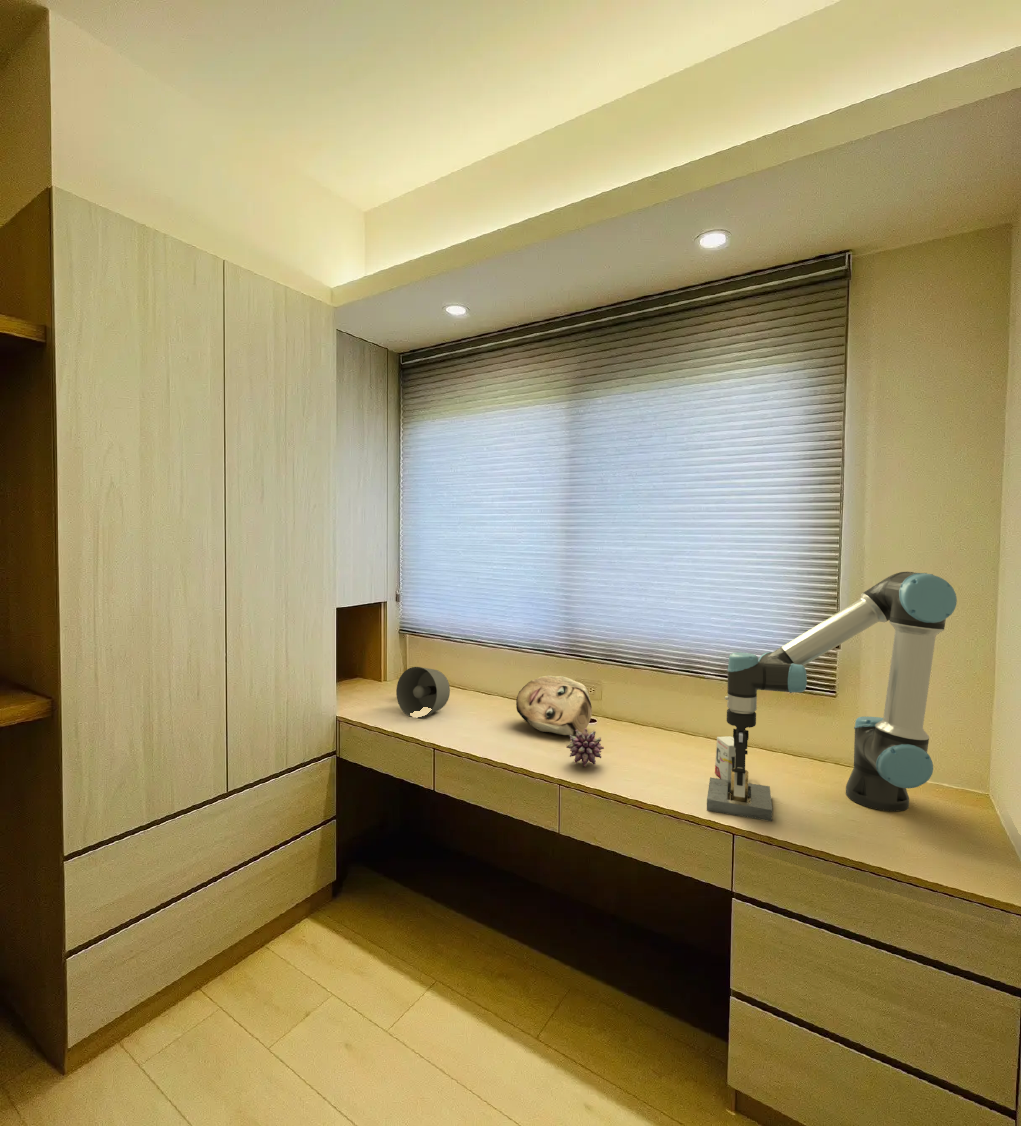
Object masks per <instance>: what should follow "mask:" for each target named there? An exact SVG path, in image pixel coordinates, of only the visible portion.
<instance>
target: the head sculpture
mask: <svg viewBox="0 0 1021 1126" xmlns="http://www.w3.org/2000/svg"><path fill="white" fill-rule="evenodd" d="M515 701H516V703H515V704H516V705H515V706H516V707H515V708H516V711H517V713H518V715H519V716H520V717H521V718H522V719H523V721H525V722H526V724H528V725H530V726H531V727H532V728H534V729H536V730H538V731H539V732H542V733H548V732H549V733H553V734H556V735H559V736H560V735H561V736H570V735H571V736H576V731H575V730H578V731H579V732H581V733H582V734H583V732H584V730H585V728H587V729H588V726H589V725H590V721H591V719H592V715H593V709H592V701H591V696H590V694H589V690H588V689H587V687H586V686H585V685H584V684H583V683H581V682H578V681H577V680H576V681H575V680H574V679H572V678H569V677H566V676H564V675H563V676H562V675H559V676H553V675H550V674H549V675H545V676H544V675H541V676H539V677H536V678H534V679H532V680H530V681H528V682H527V683H526V684H525V685H524V686H523V687H522V688H521V689H520V690H519V691H518V694H517V696H516V700H515Z"/></svg>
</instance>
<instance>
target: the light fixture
mask: <svg viewBox="0 0 1021 1126" xmlns="http://www.w3.org/2000/svg"><path fill="white" fill-rule="evenodd" d="M395 689H396V700H397V703H398V705H399V708H400V709H401V710H402V711H403V713H404V714H405V715H407V716H408V715H410V713H413V712H414V711H420V710H421V709H422V708H423V707H428V708H431V709H432V710H431V711H430V712H429V713H428V714H427V715H425V716H422V717H421V718H425V717H426V716H428V715H431V714H433V713H435V712H438V711H440V710H441V709H442V708H444V707H445V706H446V705H447V703H448V701H449V700H450V699H449V698H450V692H451V688H450V683H449V680H448V678H447V677H446V675H445V674H444V673H443V672H441V671H439V670H437V669H434V668H428V667H427V668H426V667H421V666H411V667H409V668H407V669H406V670H404V671H403V673H402V674H401V675H400V676H399V678H398V682H397V684H396V688H395Z"/></svg>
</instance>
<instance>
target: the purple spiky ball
mask: <svg viewBox="0 0 1021 1126" xmlns="http://www.w3.org/2000/svg"><path fill="white" fill-rule="evenodd" d="M575 731H576V735H569V740H570V742H569V744H566V749H570V750H569V752H570V754H569V757H570V758H571V757H574V759H573V760H574V764H577V763H578V762H579V761H581V763H582V766H583V767H584V768H585V767H587V764H588V763H592V764H593V765H596V758H600V759H602V755H601V754H602V753H601V752H602V750H604V749H605V747H604V746H603V745H601V742H602V737H601V736H600V737H596V730H593V731H592V732H590V733H589V732H588V727H587V728H585V730H584V732H583V733H581V732H579V731H578V730H575Z"/></svg>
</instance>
